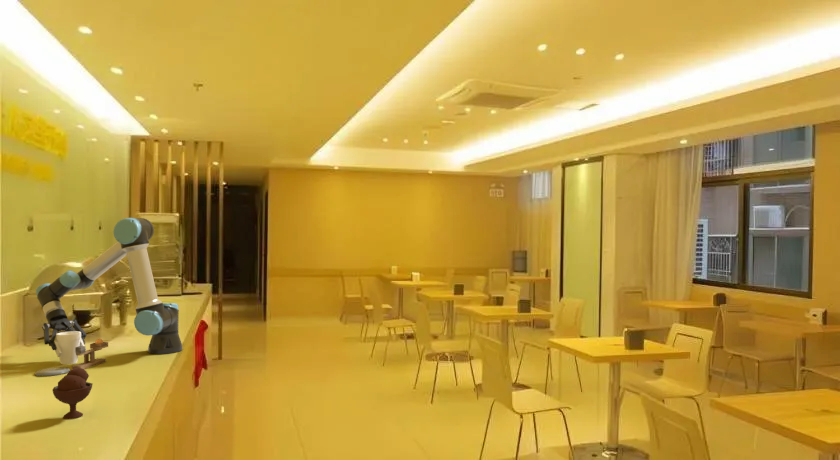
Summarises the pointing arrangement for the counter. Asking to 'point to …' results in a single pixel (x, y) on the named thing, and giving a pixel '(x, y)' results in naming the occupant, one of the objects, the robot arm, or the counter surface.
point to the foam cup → (68, 346)
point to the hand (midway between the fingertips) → (72, 352)
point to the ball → (99, 341)
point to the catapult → (93, 347)
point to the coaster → (52, 371)
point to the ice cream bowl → (73, 390)
